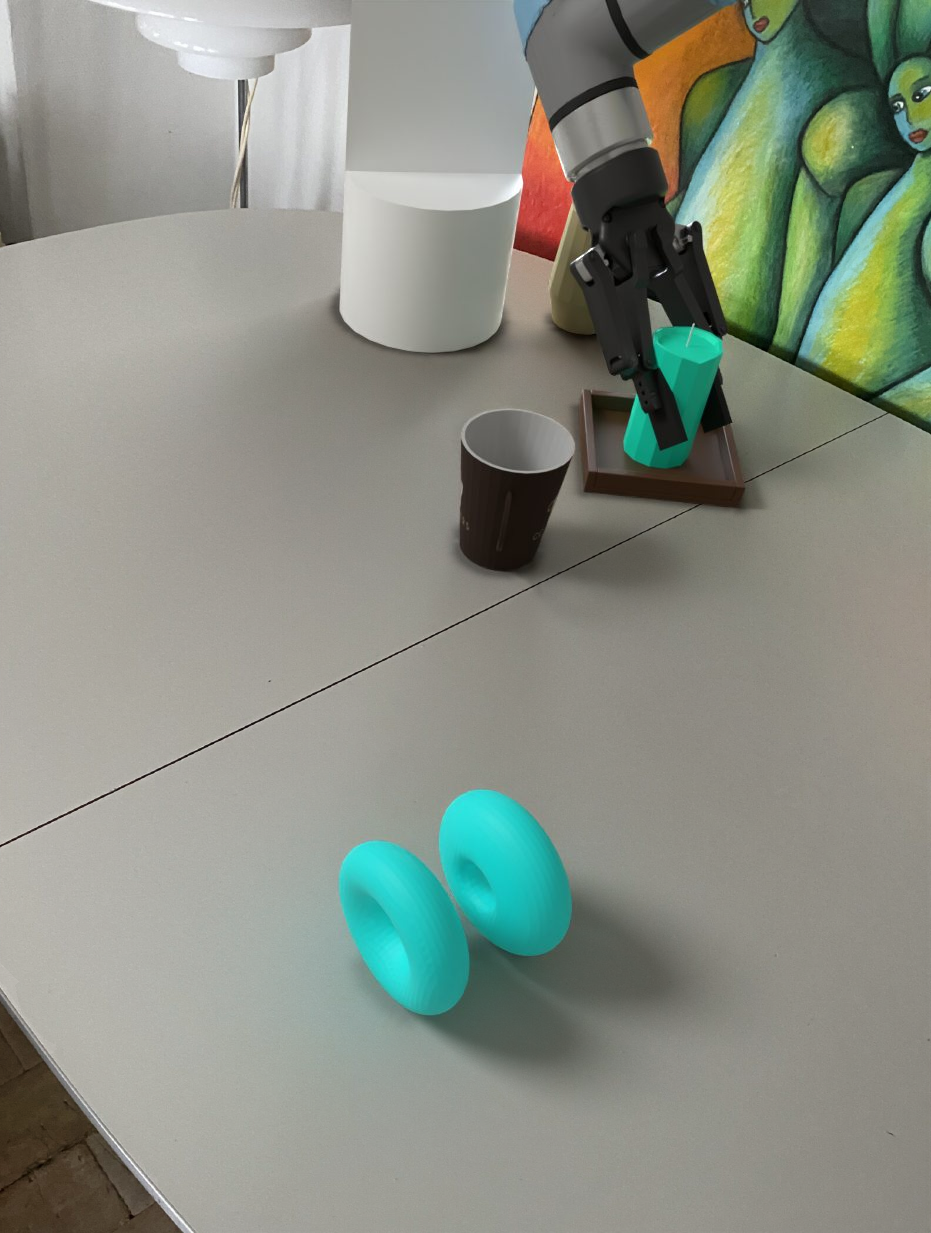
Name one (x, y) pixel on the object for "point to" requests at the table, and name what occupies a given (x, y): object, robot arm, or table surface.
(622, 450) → the walnut tray
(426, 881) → the donuts
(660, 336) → the candle
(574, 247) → the squeeze bottle
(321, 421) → the table surface
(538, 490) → the coffee mug
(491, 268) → the cylinder
